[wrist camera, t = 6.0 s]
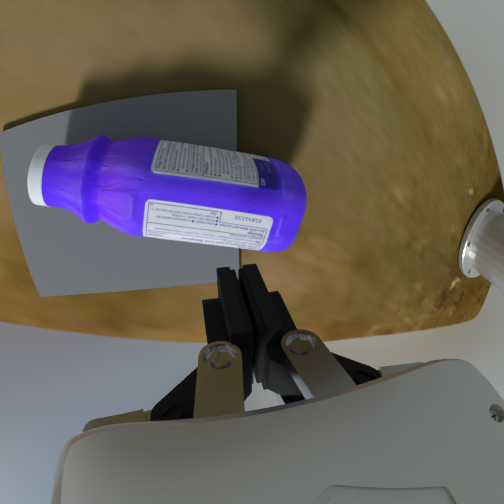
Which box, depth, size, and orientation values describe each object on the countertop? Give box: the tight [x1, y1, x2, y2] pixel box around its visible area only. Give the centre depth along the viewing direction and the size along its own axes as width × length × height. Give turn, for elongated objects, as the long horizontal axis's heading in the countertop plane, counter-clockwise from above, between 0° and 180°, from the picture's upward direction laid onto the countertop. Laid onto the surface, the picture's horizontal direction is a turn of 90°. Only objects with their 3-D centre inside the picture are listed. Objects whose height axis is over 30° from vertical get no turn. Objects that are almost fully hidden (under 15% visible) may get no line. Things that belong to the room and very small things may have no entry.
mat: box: [0, 89, 239, 297], centre depth 21 cm, size 20×16×1 cm
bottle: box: [27, 135, 306, 252], centre depth 17 cm, size 7×6×17 cm
